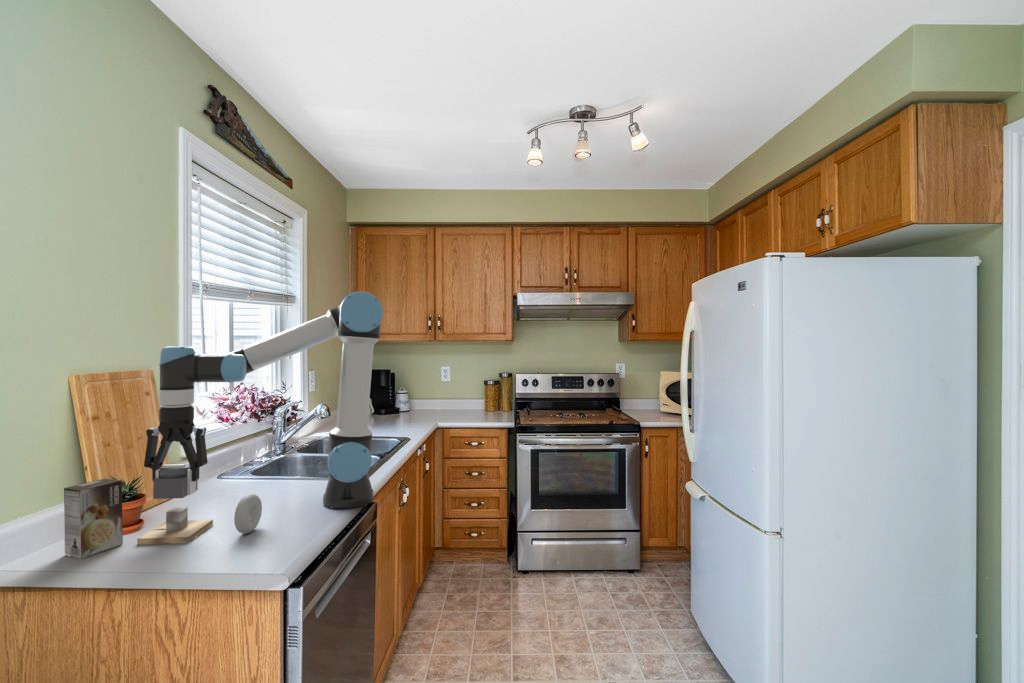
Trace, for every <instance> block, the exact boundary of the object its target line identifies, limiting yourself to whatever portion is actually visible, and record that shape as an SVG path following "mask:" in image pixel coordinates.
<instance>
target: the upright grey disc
mask: <svg viewBox="0 0 1024 683" xmlns="http://www.w3.org/2000/svg"><path fill="white" fill-rule="evenodd" d="M262 505H263V503H262V500H261V498H260V497H259V495H257V494H255V493H249V494H248V493H247V494H246V495H244V496H243V497H242V498H240V500H239V502H238V503H237V505H236V508H235V512H234V516H233V518H234V519H233V521H234V527H235V529H236V530H237V532H239V533H240V534H244V535H247V534H250V533H251V532H253V531H254V530H255V529H256V528H257V526H258V525H259V524H260V523H259V522H260V519H261V518H262V512H263V511H262V510H263V506H262Z"/></svg>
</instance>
